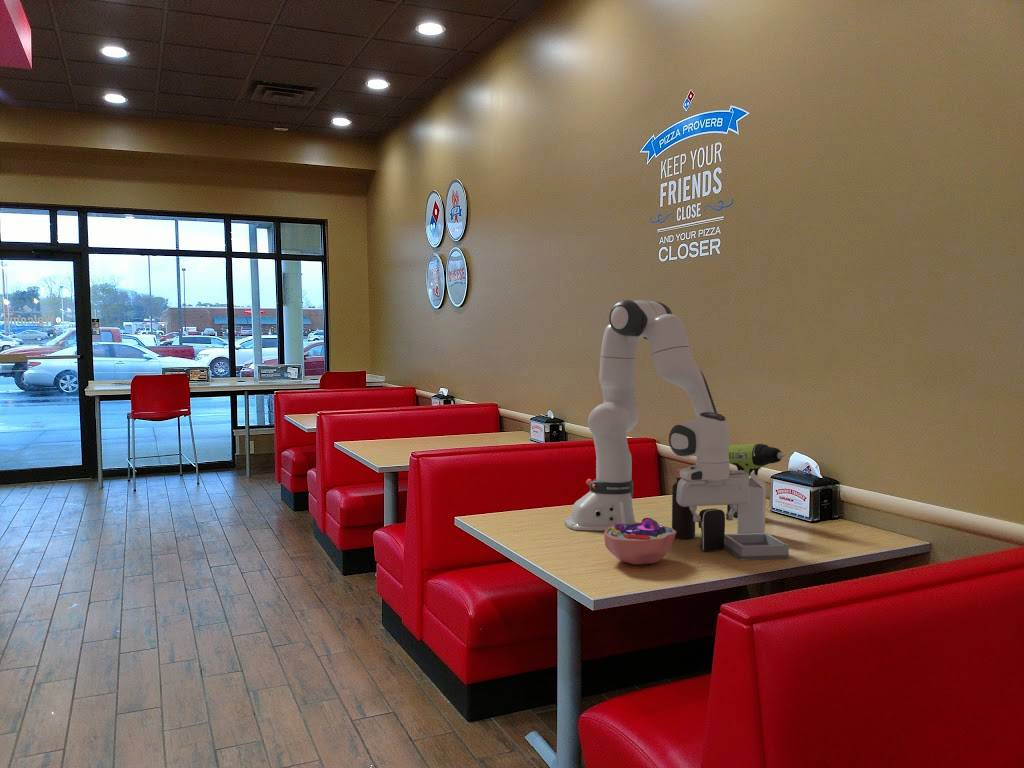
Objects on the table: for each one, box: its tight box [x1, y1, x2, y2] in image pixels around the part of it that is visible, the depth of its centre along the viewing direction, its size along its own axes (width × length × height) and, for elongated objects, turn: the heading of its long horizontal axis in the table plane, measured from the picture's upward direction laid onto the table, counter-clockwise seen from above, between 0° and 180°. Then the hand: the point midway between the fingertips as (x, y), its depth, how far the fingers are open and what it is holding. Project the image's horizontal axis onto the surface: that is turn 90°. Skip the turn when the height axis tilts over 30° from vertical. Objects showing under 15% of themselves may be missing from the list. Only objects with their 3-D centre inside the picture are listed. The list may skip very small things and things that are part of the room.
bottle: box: [671, 468, 697, 540], centre depth 222 cm, size 7×7×20 cm
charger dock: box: [724, 532, 790, 561], centre depth 206 cm, size 13×13×4 cm
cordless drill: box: [726, 443, 787, 519], centre depth 242 cm, size 23×7×25 cm, turn 28°
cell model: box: [603, 517, 676, 566], centre depth 197 cm, size 17×20×11 cm
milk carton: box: [736, 470, 767, 534], centre depth 224 cm, size 7×7×19 cm
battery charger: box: [698, 507, 726, 552], centre depth 209 cm, size 7×4×11 cm, turn 112°
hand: (713, 520), depth 208 cm, fingers open, 8 cm apart
